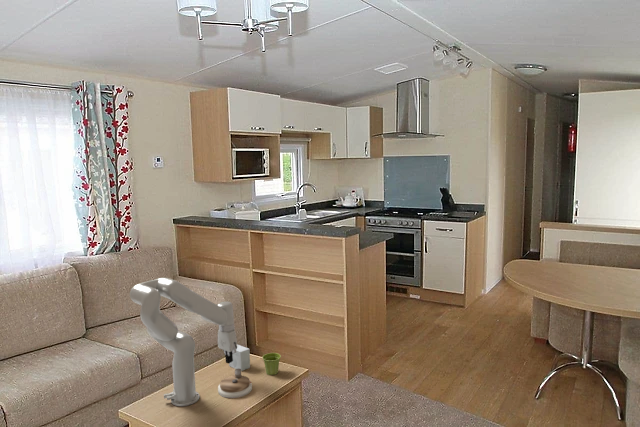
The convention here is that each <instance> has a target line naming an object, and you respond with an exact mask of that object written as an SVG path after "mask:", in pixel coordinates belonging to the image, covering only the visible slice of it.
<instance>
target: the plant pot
mask: <svg viewBox="0 0 640 427" xmlns="http://www.w3.org/2000/svg"><path fill="white" fill-rule="evenodd" d="M281 357H282V355H281V354H280V353H278V352H270V353H269V352H268V353H266V354H264V355H262V357H261V359H262V361H263V362H264V368H265V373H266V375H268V376H275V375H277V374H278V373H279V367H280V366H279V365H280V360H281Z"/></svg>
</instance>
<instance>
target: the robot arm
mask: <svg viewBox="0 0 640 427" xmlns="http://www.w3.org/2000/svg"><path fill="white" fill-rule="evenodd" d="M162 297H163V298H166V299H168V300H170V301H171V302H173V303H175V304H176V305H178V306H180V307H181V308H183V309H184V310H186V311H188V312H191V313H194V314H197V315H199V316H200V318H201V319H202V320H204V321H205V322H208V323H210V324H211V323H212V324H213V325H217V326H218V329H217V347H218V349H220V350H222V351H223V355H225V356H224V358H225V364H228V365H229V363H231V362H233V356H232V354H234V353H236V349H237V344H238V339H237V333H236V330H235V318H234V317H235V315H234V306H233V303H232V302H231V301H222V302H219V303H217V304H216V303H214V302H212V301H211V300H208V299H207V298H205V297H204V296H203V295H201V294H199V293H197V292H196V291H194V290H192V289H191V288H189V287H187V286H186V285H184V284H183V283H181V282H180V281H178V280H175V279H172V278H169V277H160V278H155V279H153V280H148V281H144V282H141V283H138V284H134V285H133V287H131V289H130V291H129V298H130V300H131V301H132V302H133V303H135V304H136V305H139V306H140V311H139V317H140V321H141V322H142V324H143V325H144V326H145V327H146V332H147V334H148V335H149V336H150V337H151V338H152V339H153V340H154V341H156V342H157V343H158V344H160V345H161V346H162V347H164V348H165V349H166V350H169V351H171V352H173V357H172V358H173V359H172V362H171V363H172V364H171V365H172V366H171V367H172V380H173V381H172V382H173V389H172V391H170V393H163V399H166V401H169V400H170V402H171V404H172V405H174V406H175V407H187V406H191V405H193V404H195V403H197V402H198V401H199V399H200V393H199V392H198V391H196V390H197V389H196V374H195V373H196V372H195V359H194V358H195V349H196V342H195V341H196V340H195V339H194V337H193V336H192V335H190V334H189V333H187V332H184V331H181V330H179V329H178V325H176V323H175V322H174V321H173V320H171V319H170V318H169V317H168V316H167V315H165V314H164V312H162V311H161V307H160V306H161V300H162Z"/></svg>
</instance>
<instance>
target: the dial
mask: <svg viewBox="0 0 640 427" xmlns="http://www.w3.org/2000/svg"><path fill="white" fill-rule="evenodd" d="M250 381H251V380H250V378H249V377H247V376H245V375H242V371H241V369H235V368H234V375H230V376H227V377H224V378H223V379H221V380H220V383H219V384H220V388H221V390H223V391H225V392H239V391H242V390H244V389H246V388H248V387H249V385H250Z"/></svg>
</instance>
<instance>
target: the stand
mask: <svg viewBox="0 0 640 427" xmlns="http://www.w3.org/2000/svg"><path fill="white" fill-rule="evenodd" d="M252 390H253V383H252V381H251V380H250V385H249V387H248V388H246V389H244V390H242V391H239V392H225V391H223V390H221V388H220V383H219V384H218V386H217V392H218V395H220V396H221V397H223V398H226V399H235V398H237V399H238V398H242V397H244V396H247V395H249V394H250V392H252Z"/></svg>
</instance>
